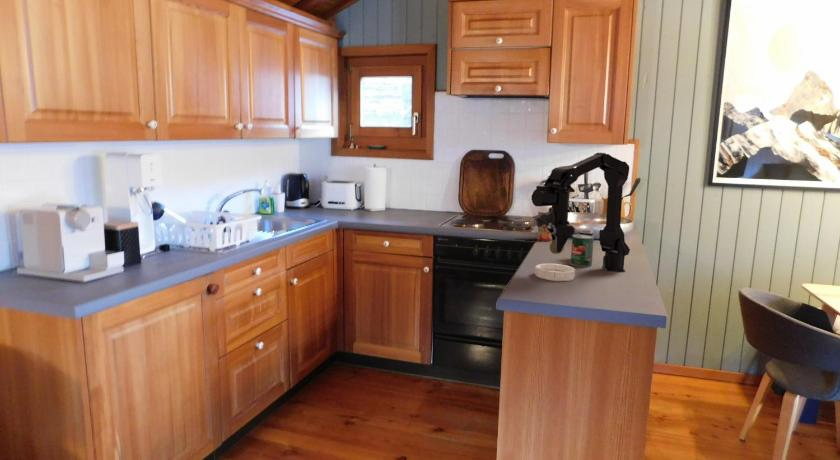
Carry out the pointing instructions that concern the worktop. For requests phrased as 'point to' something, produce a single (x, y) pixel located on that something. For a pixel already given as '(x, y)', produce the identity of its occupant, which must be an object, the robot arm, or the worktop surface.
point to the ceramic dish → (555, 272)
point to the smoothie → (542, 231)
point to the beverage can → (586, 232)
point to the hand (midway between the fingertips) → (556, 250)
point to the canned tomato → (582, 250)
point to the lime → (554, 247)
